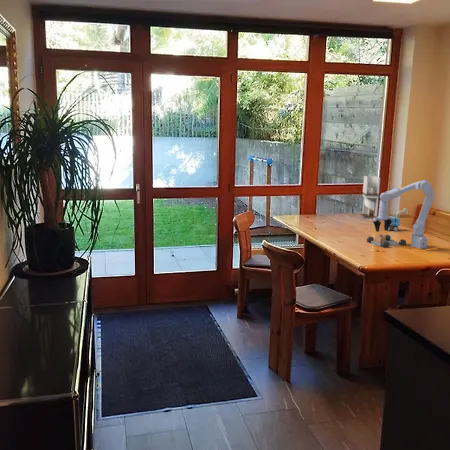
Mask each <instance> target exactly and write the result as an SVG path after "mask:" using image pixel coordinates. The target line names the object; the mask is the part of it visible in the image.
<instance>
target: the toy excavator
mask: <svg viewBox="0 0 450 450" xmlns="http://www.w3.org/2000/svg"><path fill="white" fill-rule="evenodd" d="M404 213H405V214H404ZM402 214H404V215H406V216H408V215H409V210H408V208H405V207H404V208H403V209H402V210H399V211H397V212H396V214H395V216H390V217H392V222H391V224H390V226H389V228H388V231H391V230H392V231H394V232H397V231H399V227H400V224H401V223H400V215H402ZM384 226H385V225H384V224H383V227H384Z"/></svg>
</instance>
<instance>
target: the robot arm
mask: <svg viewBox="0 0 450 450" xmlns="http://www.w3.org/2000/svg"><path fill="white" fill-rule="evenodd" d="M413 190H417V191H418V190H421V191H422V192H423V193H424V196H425V197H424V200H423V203H422V205H421V209H420V211H419V215H418V218H416V221H415V223H414V224H413V225H412V232H411V239H410V247H413V248H417V249H418V251H420V250H423V249H428V247H427V246H428V237H427V236H426V235H424V234H425V230H426V229H425V226H426V221H427V219H428V215H429V213H430V209H431V206H432V204H433V201H434V198H435V193H434V192H435V191H434V189H433V186H432V184H431V183H430V182H429V181H428V180H426V179H423V180H418V181H415V182H413V183H410V184H408V185H406V186H403V187H401V188H399V187H393V189H391V190H386V191H385V192H381V194H379V199H380V200H379V203H378V207H379V208H378V215H377V217H376V218H373V219H372V223H373V224H374V227H375V232H377V233H380V226H381V223H382V222H383V229H384V231H386V232H388V231H389V230H388V228H389V226H390V224H391V222H392V217H391V216H388V215H389V214H388V213H389V201H390V200H394V199H397V198H398V197H402V196H401V195H402V194H404V193H407V192H409V191H413ZM384 225H385V226H384Z"/></svg>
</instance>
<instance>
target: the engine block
mask: <svg viewBox="0 0 450 450" xmlns="http://www.w3.org/2000/svg"><path fill="white" fill-rule="evenodd" d="M384 236H385V235H383V234H379V233H378V235H375V236H374V240H375V242H378V243H383V242H384V241H386V237H384Z"/></svg>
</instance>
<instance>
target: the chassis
mask: <svg viewBox="0 0 450 450" xmlns="http://www.w3.org/2000/svg"><path fill="white" fill-rule="evenodd" d="M383 236H384V237H386V241H384V242H383V243H378V242H375V237H373V236H370V235H369V236H368V237H367V238H366V242H367V243H368V244H371V245H375V246H377V247H381V248H384V249H385V248H389V247H392V246H406V245H407V241H406V239H404V238H402V239H400V240H398V241H399V242H398V241H396V240H392V236H391V235H389V234H385V235H383Z"/></svg>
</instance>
